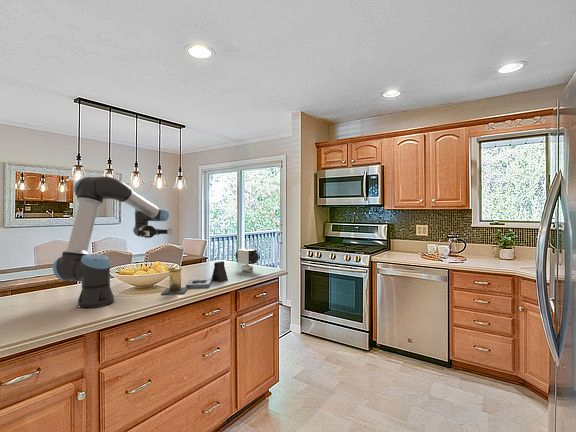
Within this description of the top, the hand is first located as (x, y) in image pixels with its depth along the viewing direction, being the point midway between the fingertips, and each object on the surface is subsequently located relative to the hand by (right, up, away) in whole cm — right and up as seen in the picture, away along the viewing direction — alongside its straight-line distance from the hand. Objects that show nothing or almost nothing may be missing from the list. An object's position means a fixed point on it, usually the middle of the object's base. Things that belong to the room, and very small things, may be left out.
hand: (161, 233), depth 181 cm
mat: (+10, -32, -6) cm, 34 cm away
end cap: (+10, -31, -6) cm, 33 cm away
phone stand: (+29, -32, +21) cm, 48 cm away
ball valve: (+43, -31, +50) cm, 73 cm away
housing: (+19, -32, +9) cm, 38 cm away
